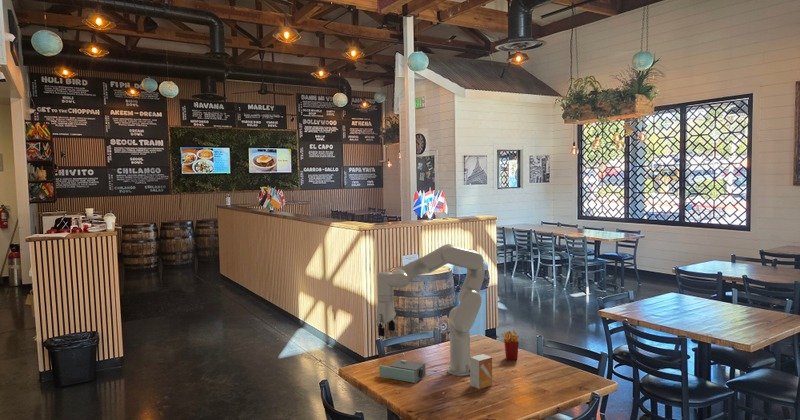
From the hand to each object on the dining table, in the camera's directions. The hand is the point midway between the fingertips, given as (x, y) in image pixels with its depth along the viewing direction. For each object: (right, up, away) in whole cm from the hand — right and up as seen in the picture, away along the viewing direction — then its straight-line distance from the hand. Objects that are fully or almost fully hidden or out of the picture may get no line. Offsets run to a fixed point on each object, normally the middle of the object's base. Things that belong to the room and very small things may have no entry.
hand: (386, 333), depth 251 cm
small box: (+43, -20, -14) cm, 50 cm away
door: (+5, -20, -6) cm, 22 cm away
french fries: (+63, -18, +20) cm, 69 cm away
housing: (+10, -20, -2) cm, 23 cm away
